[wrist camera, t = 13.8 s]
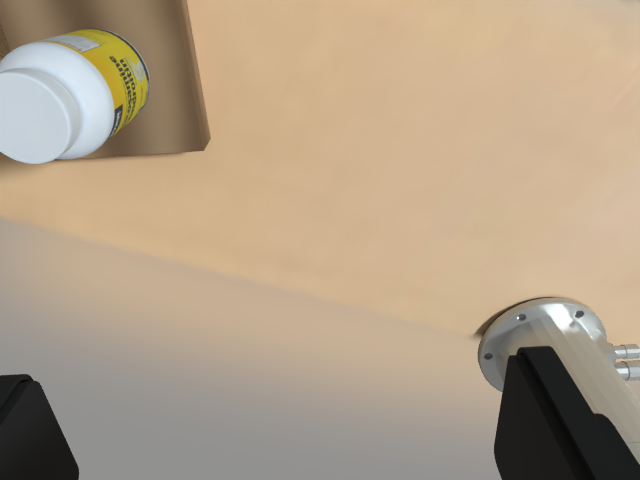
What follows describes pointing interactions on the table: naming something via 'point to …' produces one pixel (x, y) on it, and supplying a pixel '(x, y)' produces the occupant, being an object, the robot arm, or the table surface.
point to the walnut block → (154, 47)
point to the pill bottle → (69, 94)
